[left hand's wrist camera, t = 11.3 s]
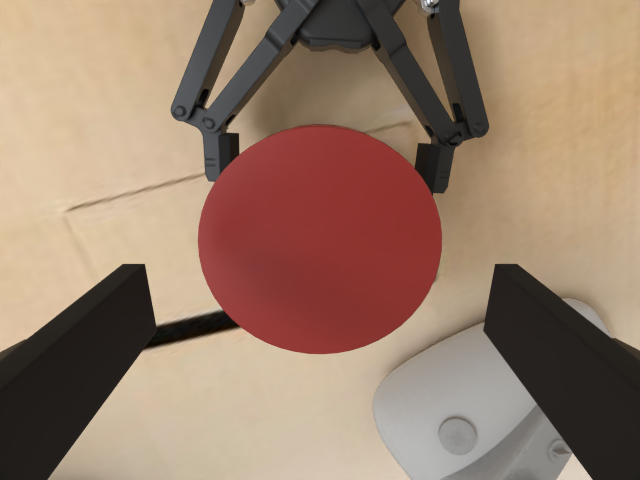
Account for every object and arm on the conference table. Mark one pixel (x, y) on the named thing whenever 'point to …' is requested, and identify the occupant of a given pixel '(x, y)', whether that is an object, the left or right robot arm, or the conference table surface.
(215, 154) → the right robot arm
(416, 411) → the projector
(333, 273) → the lid
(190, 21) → the conference table surface
